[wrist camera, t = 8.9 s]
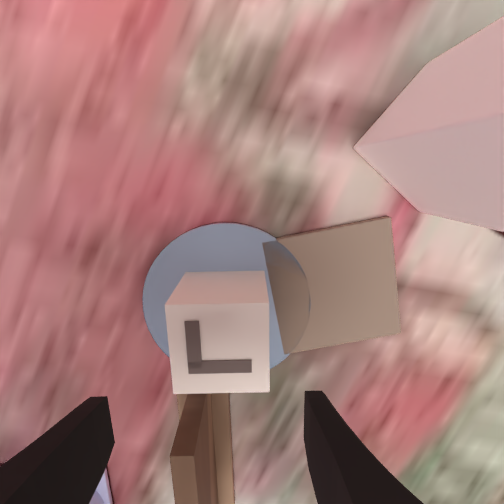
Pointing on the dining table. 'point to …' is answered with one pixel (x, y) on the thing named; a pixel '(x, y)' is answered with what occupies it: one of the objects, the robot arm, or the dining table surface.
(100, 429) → the robot arm
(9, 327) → the dining table surface
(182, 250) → the light blue plate
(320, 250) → the cork mat
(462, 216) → the milk
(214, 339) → the letter cube
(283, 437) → the dining table surface
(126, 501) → the dining table surface
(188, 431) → the brown upright panel
